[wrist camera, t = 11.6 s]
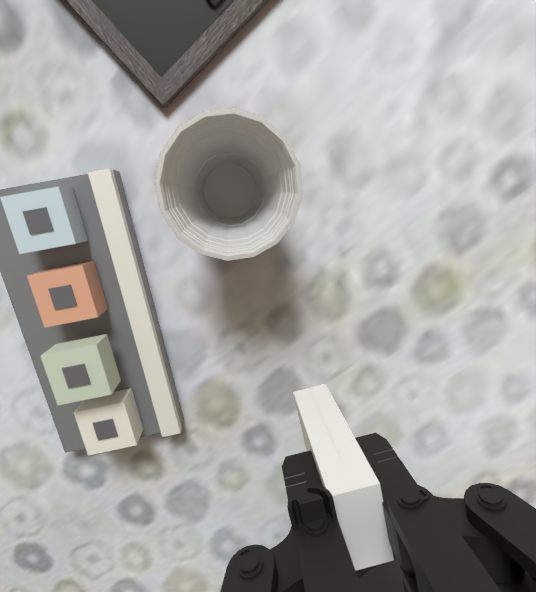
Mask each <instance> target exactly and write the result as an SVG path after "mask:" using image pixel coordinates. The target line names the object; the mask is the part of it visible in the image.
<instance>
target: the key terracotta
mask: <svg viewBox="0 0 536 592" xmlns="http://www.w3.org/2000/svg"><path fill="white" fill-rule="evenodd" d="M27 278H28V281H29V284H30V287H31V290H32V292H33V295H34V298H35V301H36V304H37V307H38V310H39V313H40V316H41V319H42V322H43V325H44V328H45V327H51V326H56V325H61V324H66V323H71V322H76V321H81V320H86V319H92V318H97V317H99V316H100V315H101V314H103V313H104V312H105V311H106V310H107V309H108V306H107V303H106V300H105V296H104V293H103V289H102V286H101V283H100V279H99V276H98V272H97V269H96V266H95V262H94V261H90V262H85V263H80V264H74V265H69V266H64V267H58V268H53V269H48V270H43V271H40V272H37V273H34V274H31V275H28V276H27Z"/></svg>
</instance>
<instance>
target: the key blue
mask: <svg viewBox="0 0 536 592" xmlns="http://www.w3.org/2000/svg"><path fill="white" fill-rule="evenodd" d="M0 199H1V202H2V205H3V208H4V210H5V213H6V216H7V219H8V222H9V225H10V228H11V231H12V234H13V237H14V240H15V243H16V246H17V249H18V252H19V254H23V253H28V252H34V251H39V250H45V249H50V248H55V247H61V246H66V245H71V244H77V243H81V242H85V241H88V239H87V235H86V232H85V228H84V225H83V221H82V218H81V215H80V211H79V208H78V204H77V201H76V198H75V194H74V191H73V188H68V187H59V186H58V187H53V188H47V189H42V190H36V191H31V192H25V193H19V194H14V195H8V196H3V197H0Z"/></svg>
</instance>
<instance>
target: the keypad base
mask: <svg viewBox="0 0 536 592" xmlns="http://www.w3.org/2000/svg"><path fill="white" fill-rule="evenodd" d="M58 186H59V187H68V188H73V191H74V194H75V198H76V201H77V204H78V208H79V211H80V215H81V218H82V221H83V225H84V228H85V232H86V235H87V239H88V241H85V242H81V243H77V244H71V245H66V246H61V247H55V248H50V249H45V250H39V251H34V252H28V253H23V254H19V252H18V249H17V246H16V243H15V240H14V237H13V234H12V231H11V228H10V225H9V222H8V219H7V216H6V213H5V210H4V208H3V205H2V202H1V199H0V272H1V275H2V277H3V280H4V283H5V286H6V289H7V291H8V294H9V297H10V300H11V303H12V305H13V308H14V311H15V314H16V317H17V319H18V322H19V325H20V328H21V331H22V333H23V336H24V339H25V342H26V345H27V347H28V350H29V353H30V356H31V359H32V361H33V364H34V367H35V370H36V373H37V375H38V378H39V381H40V384H41V386H42V389H43V392H44V395H45V398H46V400H47V403H48V406H49V409H50V412H51V414H52V417H53V420H54V423H55V426H56V428H57V431H58V434H59V437H60V440H61V442H62V445H63V448H64V451H65V452H70V451H75V450H80V449H84V448H85V445H84V442H83V439H82V436H81V433H80V430H79V427H78V424H77V421H76V419H75V416H74V413H73V412H74V411H75V410H76V409H77V407H78V406H79V405H80V403H81V402H82V401H83V400H82V401H77V402H72V403H68V404H63V405H57V402H56V399H55V397H54V394H53V391H52V388H51V385H50V382H49V379H48V377H47V374H46V371H45V368H44V365H43V362H42V359H41V357H40V356H41V355H42V354H43V353H45V352H46V351H47V350H49V349H50V348H51V347H52V346H54V345H55V344H59V343H64V342H69V341H74V340H79V339H84V338H89V337H94V336H99V335H104V334H107V336H108V339H109V342H110V346H111V349H112V352H113V356H114V359H115V362H116V366H117V369H118V372H119V376H120V379H121V381H120V382H119V384H118V385H117V387H116V389H115V390H114V392H115V391H120V390H125V389H130V388H132V392H133V395H134V398H135V402H136V405H137V409H138V412H139V415H140V419H141V422H142V426H143V431H142V433H141V436H140V437H142V436H146V435H151V434H156V433H161V434H162V437H165V436H170V435H175V434H179V433H181V428H182V424H183V420H184V417H183V413H182V410H181V406H180V402H179V398H178V394H177V391H176V387H175V383H174V379H173V375H172V372H171V368H170V364H169V360H168V356H167V352H166V349H165V345H164V341H163V337H162V333H161V330H160V326H159V322H158V318H157V314H156V311H155V307H154V303H153V299H152V295H151V291H150V288H149V284H148V280H147V276H146V272H145V269H144V265H143V261H142V257H141V253H140V250H139V246H138V242H137V238H136V234H135V231H134V227H133V223H132V219H131V215H130V211H129V208H128V204H127V200H126V196H125V192H124V189H123V185H122V181H121V177H120V173H119V171H116V170H112V169H105V170H99V171H93V172H88V174H85V175H80V176H74V177H69V178H63V179H57V180H52V181H46V182H40V183H35V184H29V185H24V186H18V187H12V188H7V189H1V190H0V197H3V196H8V195H14V194H19V193H25V192H31V191H36V190H42V189H47V188H53V187H58ZM90 261H94V262H95V266H96V269H97V272H98V276H99V279H100V283H101V286H102V289H103V293H104V296H105V300H106V303H107V306H108V309H107V310H106V311H105V312H104V313H103V314H101V315H100V316H99V317H97V318H92V319H86V320H81V321H76V322H71V323H66V324H61V325H56V326H51V327H45V328H44V325H43V322H42V319H41V316H40V313H39V310H38V307H37V304H36V301H35V298H34V295H33V292H32V290H31V287H30V284H29V281H28V278H27V276H28V275H31V274H34V273H37V272H40V271H43V270H48V269H53V268H58V267H64V266H69V265H74V264H80V263H85V262H90Z"/></svg>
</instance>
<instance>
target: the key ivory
mask: <svg viewBox="0 0 536 592" xmlns="http://www.w3.org/2000/svg"><path fill="white" fill-rule="evenodd" d="M73 413H74V416H75V419H76V421H77V424H78V427H79V430H80V433H81V436H82V439H83V442H84V445H85V448H86V451H87V454H88V455H93V454H98V453H102V452H107V451H112V450H117V449H121V448H126V447H131V446H136V445H137V443H138V441H139V438H140V436H141V433H142V431H143V426H142V422H141V419H140V415H139V412H138V409H137V405H136V402H135V398H134V395H133V392H132V388H130V389H125V390H120V391H115V392H113V393H112V395H107V396H102V397H97V398H92V399H87V400H83V401H82V402H81V403H80V405H79V406H78V407H77V409H76V410H75V411H74V412H73Z"/></svg>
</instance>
